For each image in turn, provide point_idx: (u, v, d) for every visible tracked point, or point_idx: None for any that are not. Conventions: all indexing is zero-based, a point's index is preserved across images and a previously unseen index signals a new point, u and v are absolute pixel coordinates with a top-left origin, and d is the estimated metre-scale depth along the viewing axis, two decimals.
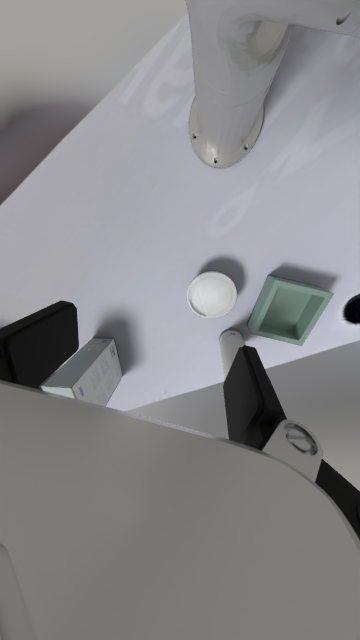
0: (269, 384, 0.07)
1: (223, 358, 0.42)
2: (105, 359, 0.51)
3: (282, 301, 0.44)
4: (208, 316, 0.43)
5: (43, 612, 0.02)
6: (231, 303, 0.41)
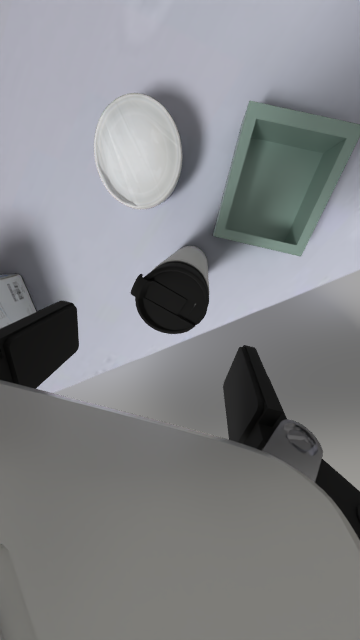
0: (269, 384, 0.07)
1: None
2: None
3: (268, 180, 0.25)
4: (138, 204, 0.25)
5: (43, 612, 0.02)
6: (173, 169, 0.23)
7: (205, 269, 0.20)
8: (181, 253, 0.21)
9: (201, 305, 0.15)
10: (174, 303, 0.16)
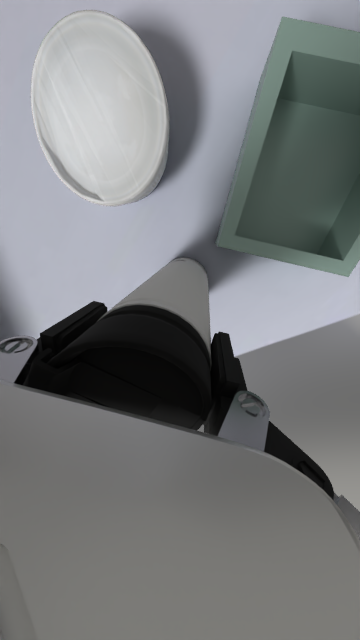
0: (233, 362, 0.08)
1: None
2: None
3: (299, 164, 0.17)
4: (104, 198, 0.17)
5: (43, 612, 0.02)
6: (155, 143, 0.14)
7: (204, 305, 0.12)
8: (164, 277, 0.12)
9: (194, 410, 0.07)
10: (134, 403, 0.07)
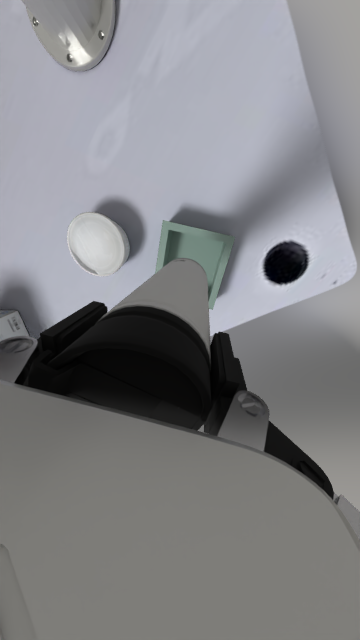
0: (233, 362, 0.08)
1: None
2: None
3: (190, 256, 0.36)
4: (98, 273, 0.36)
5: (43, 612, 0.02)
6: (120, 254, 0.34)
7: (204, 306, 0.12)
8: (163, 278, 0.12)
9: (194, 411, 0.07)
10: (133, 404, 0.07)
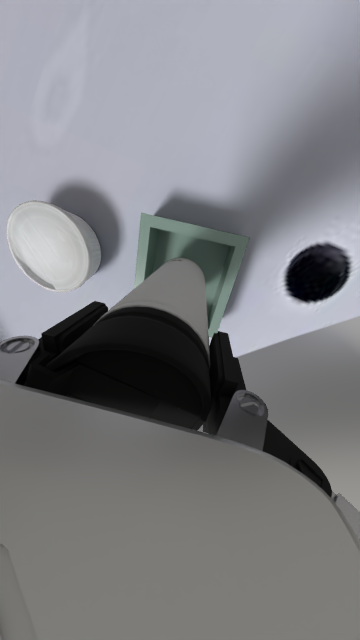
0: (232, 362, 0.08)
1: None
2: None
3: None
4: (56, 288, 0.26)
5: (43, 613, 0.02)
6: (83, 263, 0.24)
7: (202, 305, 0.12)
8: (161, 278, 0.12)
9: (194, 411, 0.07)
10: (133, 405, 0.07)
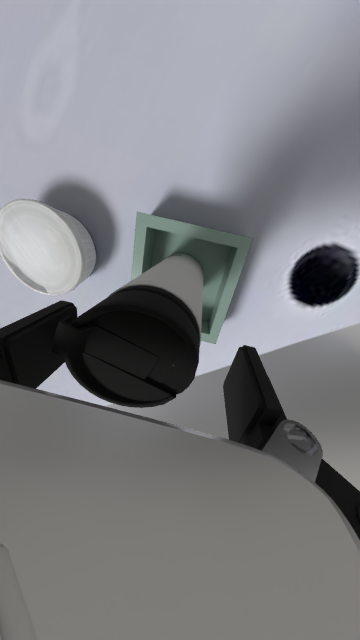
0: (269, 384, 0.07)
1: None
2: None
3: None
4: (48, 291, 0.24)
5: (43, 612, 0.02)
6: (75, 265, 0.22)
7: (197, 291, 0.14)
8: (161, 267, 0.14)
9: (185, 367, 0.09)
10: (136, 362, 0.09)
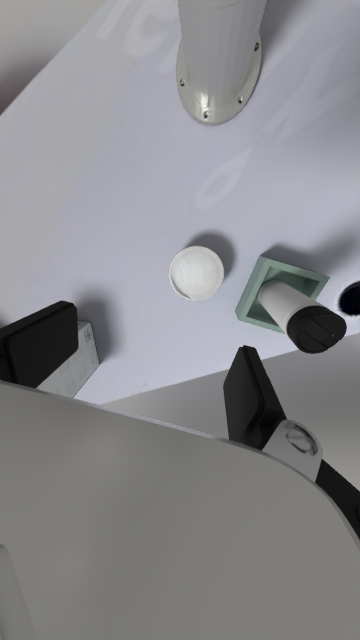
0: (269, 384, 0.07)
1: (274, 303, 0.31)
2: None
3: None
4: (192, 298, 0.39)
5: (43, 612, 0.02)
6: (217, 283, 0.37)
7: None
8: (299, 294, 0.29)
9: (338, 336, 0.24)
10: (319, 334, 0.24)
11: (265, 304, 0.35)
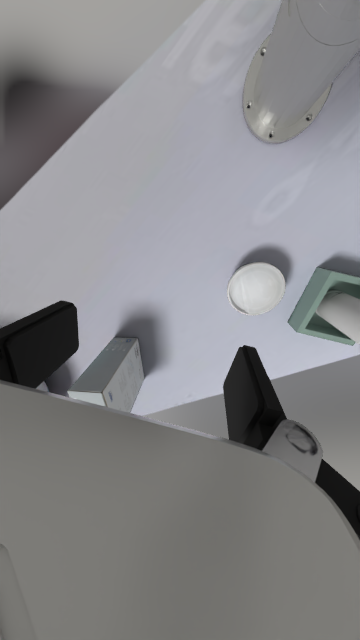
0: (269, 384, 0.07)
1: (347, 318, 0.31)
2: (131, 360, 0.47)
3: None
4: (250, 313, 0.39)
5: (43, 612, 0.02)
6: (278, 298, 0.37)
7: None
8: None
9: None
10: None
11: (330, 317, 0.35)
